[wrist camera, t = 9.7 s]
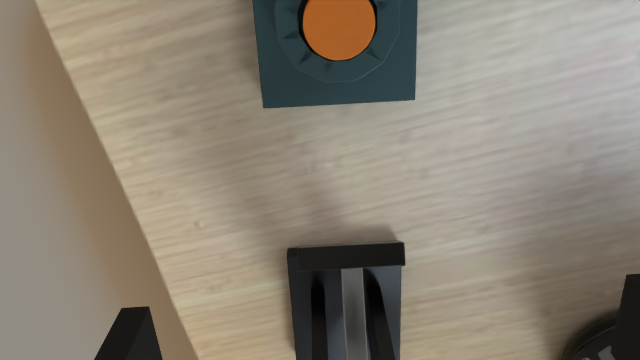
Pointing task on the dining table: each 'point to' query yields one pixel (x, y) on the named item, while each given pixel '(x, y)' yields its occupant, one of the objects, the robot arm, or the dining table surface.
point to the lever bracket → (327, 312)
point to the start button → (338, 27)
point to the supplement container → (593, 342)
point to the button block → (335, 75)
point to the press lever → (352, 281)
